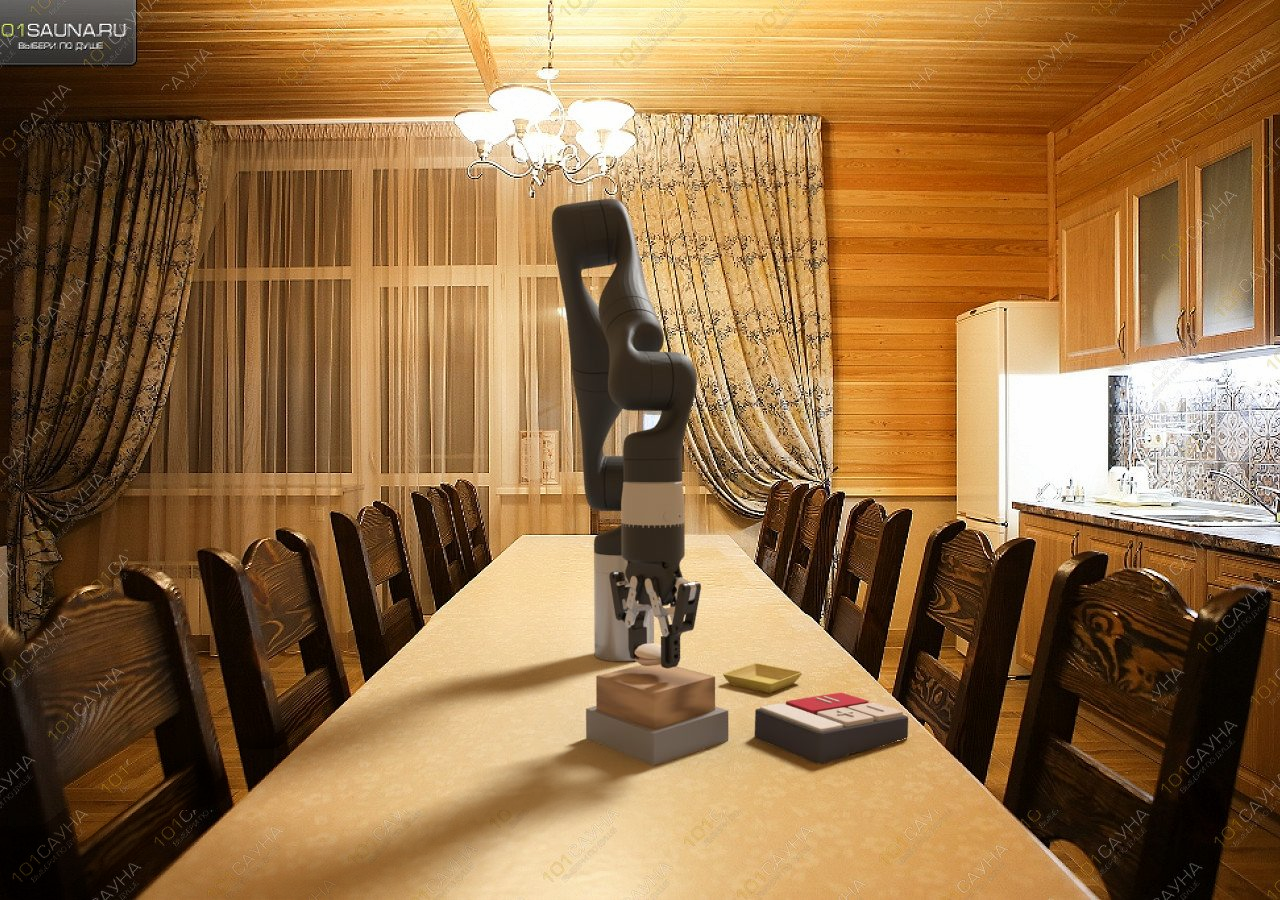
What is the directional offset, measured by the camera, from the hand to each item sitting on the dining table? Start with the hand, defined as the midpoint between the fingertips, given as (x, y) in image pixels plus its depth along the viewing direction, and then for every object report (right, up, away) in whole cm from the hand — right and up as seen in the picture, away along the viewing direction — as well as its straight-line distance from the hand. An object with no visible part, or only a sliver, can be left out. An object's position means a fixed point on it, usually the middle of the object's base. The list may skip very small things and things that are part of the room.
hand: (653, 661), depth 103 cm
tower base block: (0, -10, 0) cm, 10 cm away
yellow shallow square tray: (+16, -10, +24) cm, 30 cm away
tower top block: (0, -6, 0) cm, 6 cm away
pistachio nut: (0, -1, 0) cm, 1 cm away
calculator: (+21, -10, +1) cm, 23 cm away
